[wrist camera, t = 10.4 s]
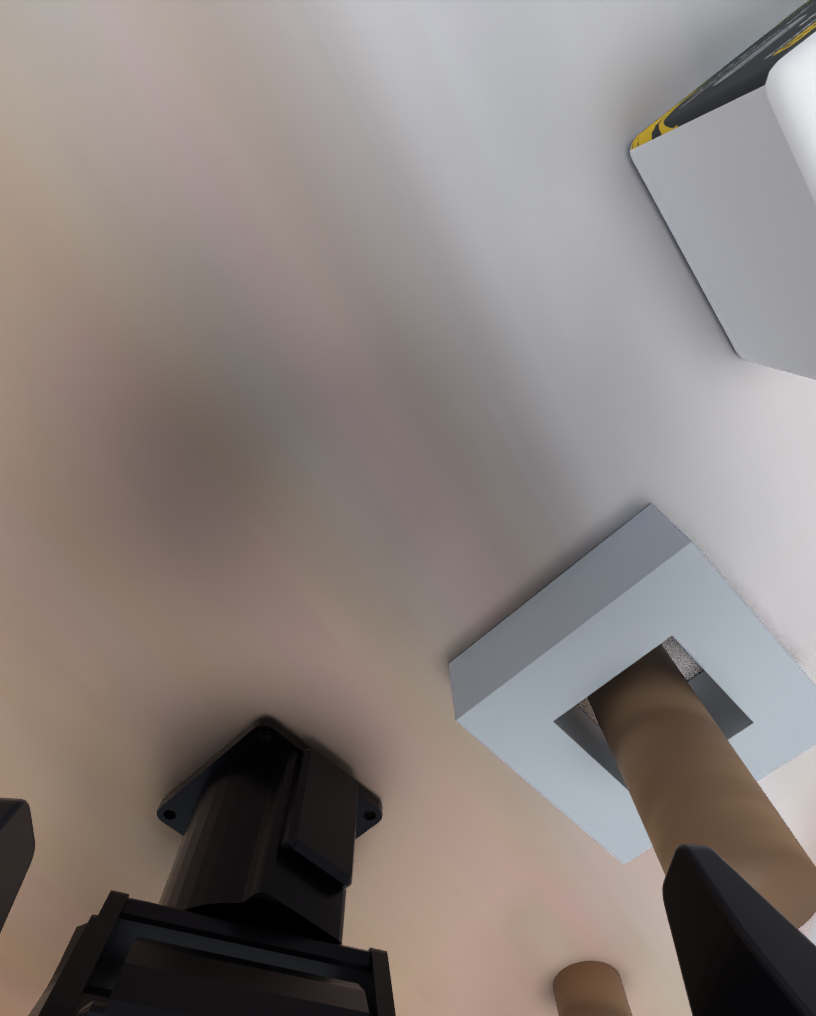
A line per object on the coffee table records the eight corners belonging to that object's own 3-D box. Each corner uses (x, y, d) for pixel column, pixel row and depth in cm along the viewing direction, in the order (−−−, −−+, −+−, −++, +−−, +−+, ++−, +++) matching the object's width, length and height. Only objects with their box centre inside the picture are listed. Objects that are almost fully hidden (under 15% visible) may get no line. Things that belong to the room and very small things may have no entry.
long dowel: (612, 715, 23) (732, 965, 15) (559, 664, 23) (655, 901, 14) (682, 666, 23) (849, 901, 14) (631, 611, 22) (776, 828, 13)
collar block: (598, 797, 25) (623, 864, 22) (448, 663, 22) (455, 720, 20) (793, 667, 23) (848, 723, 20) (651, 503, 20) (691, 541, 17)
